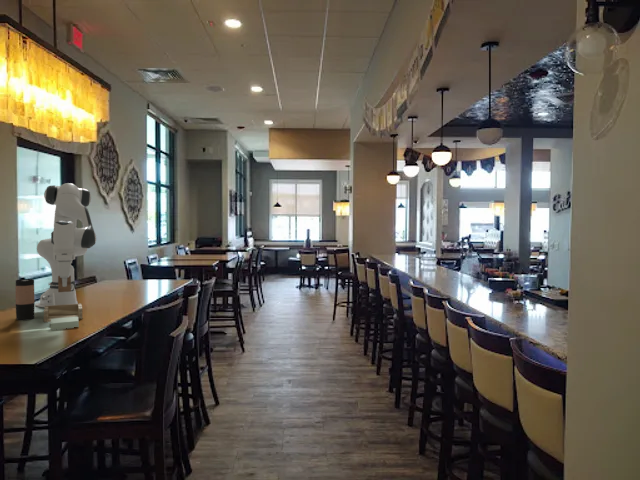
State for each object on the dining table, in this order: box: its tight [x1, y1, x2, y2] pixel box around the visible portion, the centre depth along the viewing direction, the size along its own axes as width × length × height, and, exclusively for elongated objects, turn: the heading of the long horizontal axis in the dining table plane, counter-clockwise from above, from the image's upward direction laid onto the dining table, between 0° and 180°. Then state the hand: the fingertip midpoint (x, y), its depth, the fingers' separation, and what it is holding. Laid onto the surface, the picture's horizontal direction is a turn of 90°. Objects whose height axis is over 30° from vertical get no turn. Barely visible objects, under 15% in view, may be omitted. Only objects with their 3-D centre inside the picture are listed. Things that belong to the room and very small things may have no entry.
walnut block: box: [58, 275, 71, 292], centre depth 203 cm, size 5×5×7 cm
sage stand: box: [50, 317, 80, 331], centre depth 203 cm, size 11×11×3 cm
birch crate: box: [43, 302, 83, 323], centre depth 218 cm, size 16×16×6 cm
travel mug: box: [15, 278, 36, 321], centre depth 213 cm, size 8×8×20 cm
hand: (64, 285), depth 203 cm, fingers closed on walnut block, 5 cm apart
